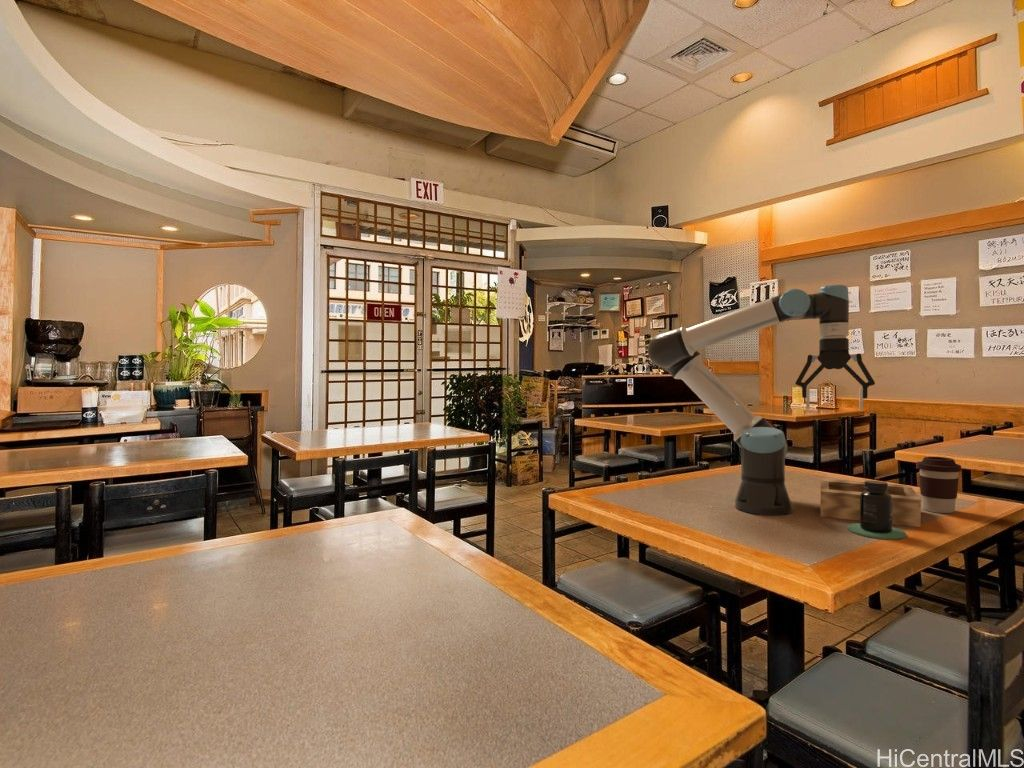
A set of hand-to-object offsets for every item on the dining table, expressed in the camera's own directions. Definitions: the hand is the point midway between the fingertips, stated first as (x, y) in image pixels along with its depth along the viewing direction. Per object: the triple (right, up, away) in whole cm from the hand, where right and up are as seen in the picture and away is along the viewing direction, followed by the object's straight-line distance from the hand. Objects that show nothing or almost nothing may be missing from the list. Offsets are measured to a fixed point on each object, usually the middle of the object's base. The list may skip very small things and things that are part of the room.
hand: (833, 409), depth 163 cm
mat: (-5, -30, -26) cm, 40 cm away
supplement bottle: (-5, -29, -26) cm, 39 cm away
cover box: (+4, -29, -8) cm, 30 cm away
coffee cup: (+26, -29, -7) cm, 39 cm away
